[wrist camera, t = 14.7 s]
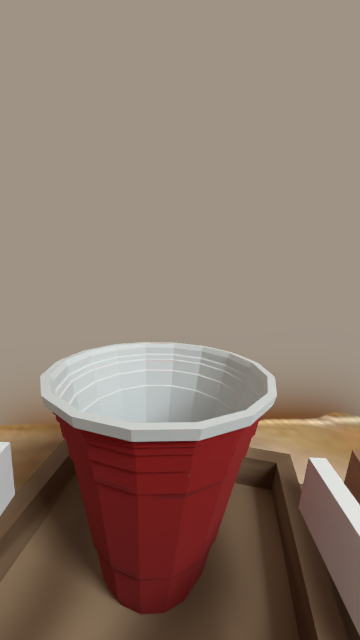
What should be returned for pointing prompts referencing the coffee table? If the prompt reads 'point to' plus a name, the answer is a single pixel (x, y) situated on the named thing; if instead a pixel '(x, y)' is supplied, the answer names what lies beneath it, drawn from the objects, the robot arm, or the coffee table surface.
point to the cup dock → (209, 591)
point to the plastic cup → (156, 455)
